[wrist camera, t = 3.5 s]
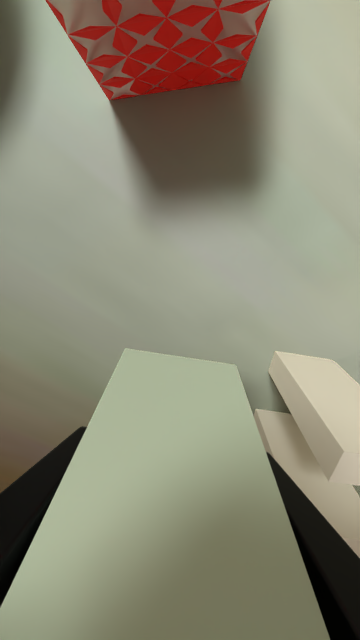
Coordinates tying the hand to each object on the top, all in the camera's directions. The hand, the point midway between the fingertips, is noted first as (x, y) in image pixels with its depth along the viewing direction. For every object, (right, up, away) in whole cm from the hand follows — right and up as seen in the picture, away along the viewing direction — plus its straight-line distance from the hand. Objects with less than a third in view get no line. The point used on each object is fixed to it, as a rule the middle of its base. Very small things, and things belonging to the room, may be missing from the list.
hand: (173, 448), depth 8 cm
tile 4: (+10, 0, +14) cm, 17 cm away
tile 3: (+9, -5, +16) cm, 19 cm away
